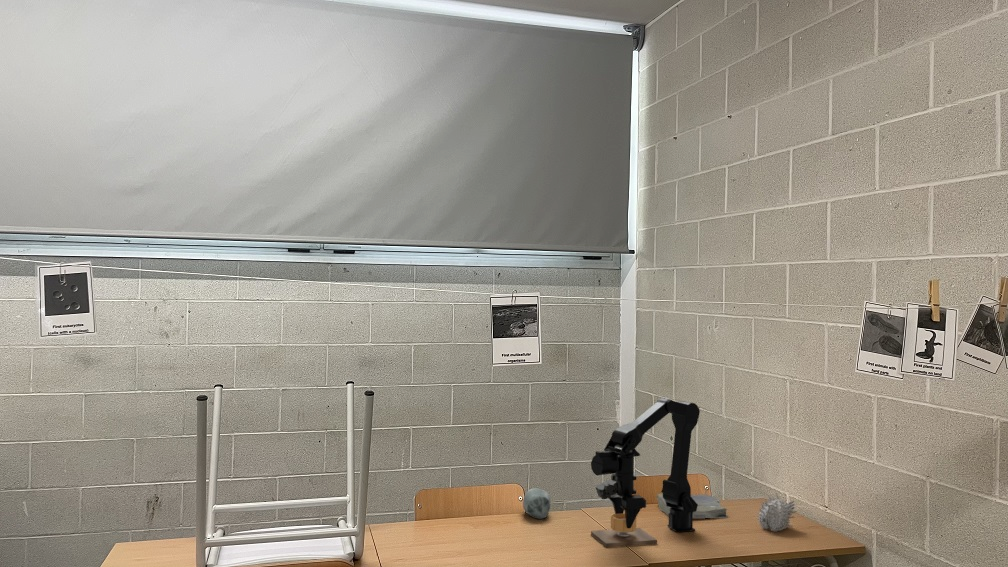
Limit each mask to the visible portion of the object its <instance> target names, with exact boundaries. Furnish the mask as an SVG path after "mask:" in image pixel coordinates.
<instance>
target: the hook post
mask: <svg viewBox="0 0 1008 567" xmlns="http://www.w3.org/2000/svg"><path fill="white" fill-rule="evenodd" d="M621 519H626V518H621ZM617 535H618V536H619V537H629V536H630V533H628V532H618V533H617Z"/></svg>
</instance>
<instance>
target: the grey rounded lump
mask: <svg viewBox="0 0 1008 567" xmlns="http://www.w3.org/2000/svg"><path fill="white" fill-rule="evenodd" d="M522 500H523V501H522V507H523V510H524V511H525V513H527V515H529V516H531V517H532V518H534V519H538V520H542V519H546V517H547V516H548V515H549V512H550V511H551V496H550V494H549V493H548V492H547V491H545V490H543V489H541V488H538V487H533V488H531V489H529V490H527V491H526V492H525V494H524V496H523V499H522Z"/></svg>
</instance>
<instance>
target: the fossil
mask: <svg viewBox="0 0 1008 567" xmlns="http://www.w3.org/2000/svg"><path fill="white" fill-rule="evenodd" d="M691 497H692V498H693V500H694V501H695V502H696V503H697V504H698V506H697V510H696V511H695V512H693V519H694V520H695V519H700V520H701V519H702V520H703V519H705V518H719V519H727V518H728V515H727V510H728V509H727V508H726V507H724V506H722V503H721V500H719V499H718V498H717V497H715V496H711V495H709V494H706V493H705V494H703V493H701V494H691ZM656 499H657V504H658V508H659V511H660V512H662V513H664V514H666V516H668V517H669V513H670V508H671V507H667V505H666V502H665V500H664V498H663V493H662V492H660V493H657V494H656Z"/></svg>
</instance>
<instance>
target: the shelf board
mask: <svg viewBox="0 0 1008 567" xmlns="http://www.w3.org/2000/svg"><path fill="white" fill-rule="evenodd" d="M617 533H618V531H614V530H613V529H603V530H601V529H600V530H591V531H590V536H592V537H593V538H594V539H595V540H596V541H597V542H599V543H600V544H601V545H602V546H603V547H604V548H606V549H607V548H609V549H610V548H620V547H621V548H622V547H633V546H637V547H638V546H648V545H658V539H657V538H655V537H654V536H652V535H651V534H649V533H648V532H647V531H645V530H644V529H642V528H641V527H636V530H635V531H633V532H628V533H630V536H629V537H619V536H618V535H617Z"/></svg>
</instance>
